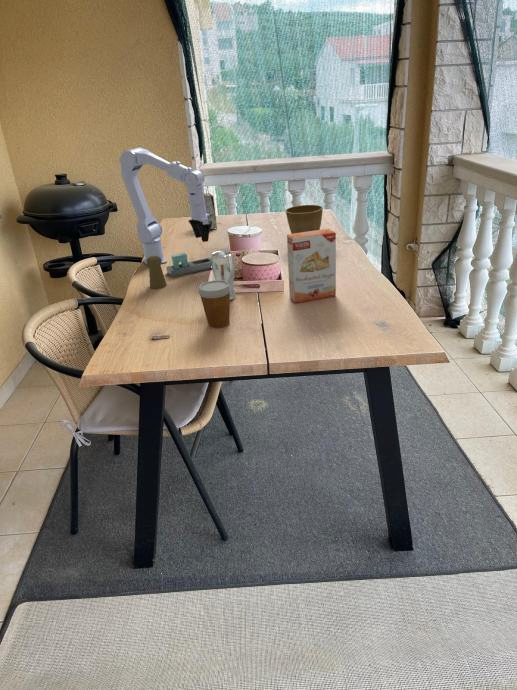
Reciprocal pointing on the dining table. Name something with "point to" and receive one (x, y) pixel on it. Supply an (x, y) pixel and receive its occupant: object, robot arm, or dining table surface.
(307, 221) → the plant pot
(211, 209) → the coffee box
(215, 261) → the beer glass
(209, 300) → the disposable coffee cup
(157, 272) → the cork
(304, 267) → the cracker box
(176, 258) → the clip
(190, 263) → the grey compartment tray
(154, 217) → the robot arm
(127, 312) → the dining table surface
